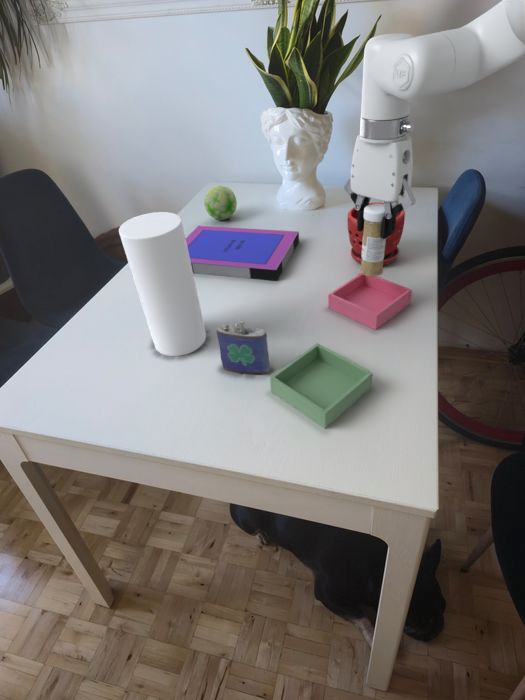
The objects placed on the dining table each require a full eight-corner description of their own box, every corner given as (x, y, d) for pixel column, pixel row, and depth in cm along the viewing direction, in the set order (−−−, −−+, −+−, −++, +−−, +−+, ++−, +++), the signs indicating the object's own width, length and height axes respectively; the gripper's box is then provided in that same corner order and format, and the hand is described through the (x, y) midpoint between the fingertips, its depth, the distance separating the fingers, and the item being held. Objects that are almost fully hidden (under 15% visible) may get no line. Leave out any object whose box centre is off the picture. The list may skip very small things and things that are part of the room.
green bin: (371, 387, 75) (373, 372, 72) (325, 428, 69) (325, 413, 66) (317, 357, 82) (317, 342, 80) (271, 391, 76) (269, 377, 74)
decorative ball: (229, 226, 131) (224, 193, 125) (201, 223, 135) (195, 191, 129) (244, 213, 138) (240, 181, 131) (217, 210, 142) (212, 179, 135)
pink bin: (409, 303, 93) (412, 289, 90) (375, 330, 87) (377, 315, 84) (362, 284, 100) (363, 271, 98) (328, 308, 94) (328, 294, 92)
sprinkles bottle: (361, 265, 90) (366, 202, 82) (384, 267, 89) (391, 203, 80) (358, 276, 87) (362, 211, 79) (381, 279, 86) (388, 212, 77)
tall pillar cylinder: (216, 330, 91) (193, 215, 75) (186, 361, 84) (154, 242, 68) (175, 319, 96) (146, 208, 80) (143, 348, 89) (105, 233, 73)
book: (198, 225, 126) (298, 231, 118) (200, 235, 128) (299, 241, 119) (164, 260, 111) (276, 270, 103) (166, 270, 113) (276, 281, 104)
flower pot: (395, 244, 113) (401, 199, 106) (403, 269, 103) (409, 221, 96) (344, 246, 115) (346, 201, 108) (347, 271, 105) (349, 223, 98)
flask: (271, 366, 81) (266, 319, 74) (267, 377, 79) (262, 330, 72) (225, 360, 83) (216, 315, 77) (220, 371, 81) (210, 325, 74)
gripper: (443, 128, 68) (426, 237, 79) (355, 117, 78) (351, 215, 90) (417, 140, 64) (402, 252, 76) (328, 127, 74) (327, 228, 86)
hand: (374, 231), depth 83 cm, fingers closed on sprinkles bottle, 4 cm apart
